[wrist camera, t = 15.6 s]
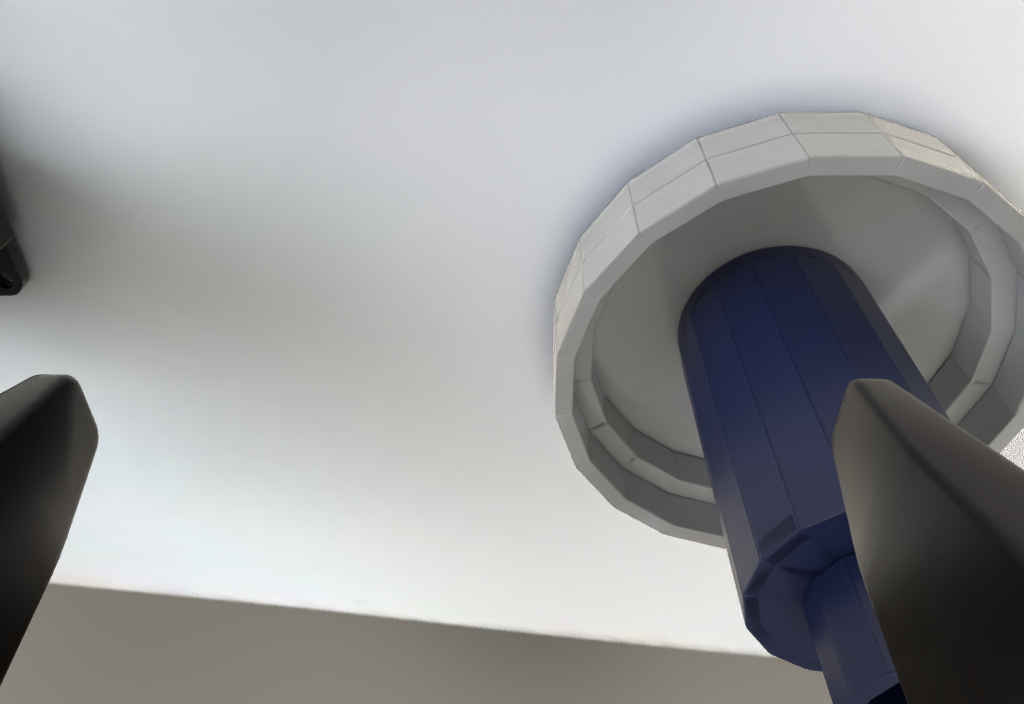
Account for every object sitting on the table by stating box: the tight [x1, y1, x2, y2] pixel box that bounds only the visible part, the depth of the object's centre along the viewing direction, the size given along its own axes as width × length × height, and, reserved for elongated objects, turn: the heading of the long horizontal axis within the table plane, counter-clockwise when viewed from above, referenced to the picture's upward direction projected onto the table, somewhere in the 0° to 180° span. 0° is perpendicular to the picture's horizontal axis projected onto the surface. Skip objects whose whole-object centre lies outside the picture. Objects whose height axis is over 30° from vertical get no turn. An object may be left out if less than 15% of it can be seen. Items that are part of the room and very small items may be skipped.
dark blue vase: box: [678, 246, 951, 704], centre depth 19 cm, size 6×6×12 cm
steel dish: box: [553, 112, 1024, 549], centre depth 23 cm, size 13×13×3 cm
